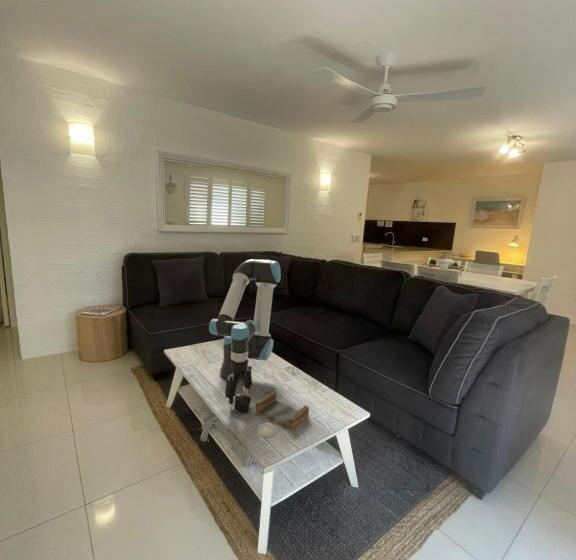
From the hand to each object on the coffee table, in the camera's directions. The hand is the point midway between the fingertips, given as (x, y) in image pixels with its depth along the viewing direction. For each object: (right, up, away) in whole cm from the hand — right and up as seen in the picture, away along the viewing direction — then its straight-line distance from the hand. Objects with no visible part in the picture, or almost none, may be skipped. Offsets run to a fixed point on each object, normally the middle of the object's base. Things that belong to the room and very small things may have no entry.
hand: (238, 404), depth 142 cm
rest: (+20, -2, -5) cm, 21 cm away
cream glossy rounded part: (+14, -4, -16) cm, 21 cm away
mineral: (+2, -1, -1) cm, 2 cm away
